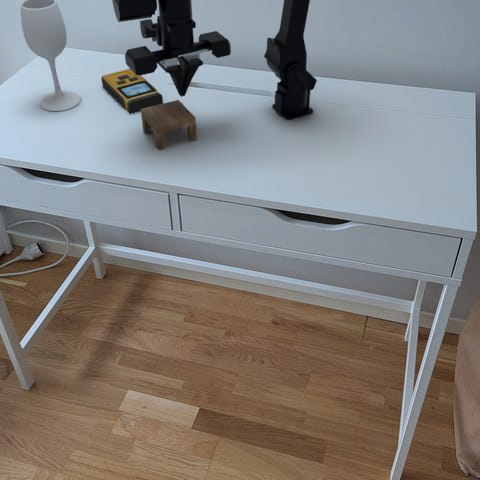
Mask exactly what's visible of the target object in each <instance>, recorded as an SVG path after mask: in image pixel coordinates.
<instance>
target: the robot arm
mask: <svg viewBox="0 0 480 480" xmlns="http://www.w3.org/2000/svg"><path fill="white" fill-rule="evenodd" d="M111 1H112V4H113V5H112V6H113V9H114V10H113V11H114V14H115V17H116V20H117V22H118V23H120V22H121V23H122V22H129V21H136V20H139V27H140V33H141V37H142V39H150V38H151V41H152V43H153V42H156V45H157V46H158V47H162V48H161V49H158V50H153V51H151V50H150V49H149V48H148V47H147V46H146V45H142V46H137V47H134V48H133V47H132V48H130V49H127V50H126V52H125V54H124V59H125V64H126V67H127V68H128V69H131V70H132V71H133V72H134V73H135V75H139V76H140V75H141V76H144V75H149V74H153V73H154V72H156V70H157V69H158V66H159V67H160V68H161V69H162V70H163V71H164V72H165V73H167V74H169V76H170V78H171V80H172V82H173V85H174V86H175V89H176V90H177V91H176V92H177V93H178V95H179V96H180V97H185V96H186V94H187V92H188V90H189V87H190V84H191V82H192V80H193V78H194V77H195V74H196V73H197V71H198V70H199V67H202V66H203V65H204V61H203V60H201V59H200V58H201V57H200V56H201V53H205V52H211V55H212V56H214V57H215V58H216V59H219V58H224V57H228V56H230V55H231V53H232V47H231V46H232V45H231V42H230V40H229V39H228V38H227V37H225V36H224V35H223V34H221V33H220V32H219V31H217V30H215V31H209V32H205V33H200V34H199V36H198V41H196V42H195V41H194V39H195V38H194V29H196V28H197V23H196V21H195V20H194V19H193V5H192V4H193V3H192V0H111ZM310 3H311V0H283V5H282V12H281V18H280V25H279V29H278V32H277V33H276V35H275V36H274V38H273V37H267V40H266V51H265V53H264V56H263V57H264V58H265V59H266V65H267V67H268V68H269V69H270V70H271V71H272V73H274V75H275V77H277V78H278V79H279V81H278V82H277V84H276V90H275V92H274V103H273V104H272V107H271V108H273V109H274V110H275V111H276V112H277V113H279V115H281V116H282V117H283V118H285V120H291V119H295V118H299V117H302V116H306V115H310V114H313V113H314V109H313V108H311V107H310V101H311V91H313V90H314V89H315V87H316V84H317V82H318V80H317V78H315V77H314V76H313V75H312V73H310V72H309V71H308V70H307V63H308V62H307V59H308V56H307V54H308V53H307V48H306V42H305V30H306V24H307V19H308V13H309V7H310ZM157 10H158V13H159V15H157V16H156V22H155V23H153V20H152V19H151V18H152V17H153V15H154V16H155V15H156V11H157Z"/></svg>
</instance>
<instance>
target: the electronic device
mask: <svg viewBox="0 0 480 480" xmlns="http://www.w3.org/2000/svg"><path fill="white" fill-rule="evenodd" d="M101 84H102V87H103V89H104V90H106V91H107V92H108V93H109V94H110V95H111V96H112V98H113V99H114V100H115V101H117V102H118V103H119V104H120V106H121V107H122V108H124V109H125V110H127V111H128V113H129V114H131V113H133V114H136V113H135V112H137V113H140V112H141V109H143V108H147V107H151V106H155V105H159V104H163V103H164V97H163V95H162V94H161V93H160V92H159V91H158V90H157V89H156V88H155V87H154V86H153V85H152V84H151V83H150V82H149V81H147V79H146V78H144V77H143V75H140V76H139V75H135V73H134V72H133V71H132V70H131V69H130V68H126V69H123V70H119V71H116V72H115V71H114V72H110V73H107V74H104V75H102V76H101ZM139 111H140V112H139Z"/></svg>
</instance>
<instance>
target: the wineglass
mask: <svg viewBox="0 0 480 480" xmlns="http://www.w3.org/2000/svg"><path fill="white" fill-rule="evenodd" d="M20 21H21V28H22V32H23V37H24V41H25V42H26V43H25V44H27V47H28V48H29V49H30V51H32V53H34V54H35V55H36V56H38V57H39V58H42V59H45V60H46V61H47V62H48V65H49V68H50V71H51V75H52V81H53V86H54V92H51V93H48V94H46V95H45V96H43V97H42V98H41V99H40V101H39V106H40V108H42V109H43V110H46V111H49V112H63V111H67V110H70V109H74V108H75V107H76V106H78V105H79V104H80V103H81V101H82V97H81V96H80V95H79V93H76V92H73V91H67V90H62V89H61V85H60V82H59V77H58V74H57V73H58V72H57V68H56V58H57V57H59V56H60V54H62V53H63V52H64V50H65V48H66V45H67V42H68V41H67V40H68V39H67V37H68V36H67V35H68V34H67V30H66V29H67V28H66V24H65V21H64V17H63V15H62V12H61V9H60V6H59V5H58V2H57V1H56V0H24V1H22V2H21V3H20Z"/></svg>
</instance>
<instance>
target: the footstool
mask: <svg viewBox="0 0 480 480" xmlns="http://www.w3.org/2000/svg"><path fill="white" fill-rule="evenodd" d="M140 113H141V116H140V117H141V123H142V130H143V131H142V132H143V133H144V134H145V135H147V134H152V133H153V131H154V140H155V147H156V149H157V150H158V151H161V150H165V148H166V145H165V136H164V133H167V132H170V131H174V130H179V129H182V128H185V127H186V130H187V139H188V140H189V141H190V142H192V141H197V140H198V139H197V124H196V123H197V122H196V117H195V115H194V114H193V113H192V112H191V111H190V110H189V109H188V108H187V107H186V106H185V105H184V103H182V102H181V101H180V100H179V99H176V100H172V101H168V102H163V104H159V105H155V106H151V107H147V108H143V109H141V111H140ZM152 130H153V131H152Z"/></svg>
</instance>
